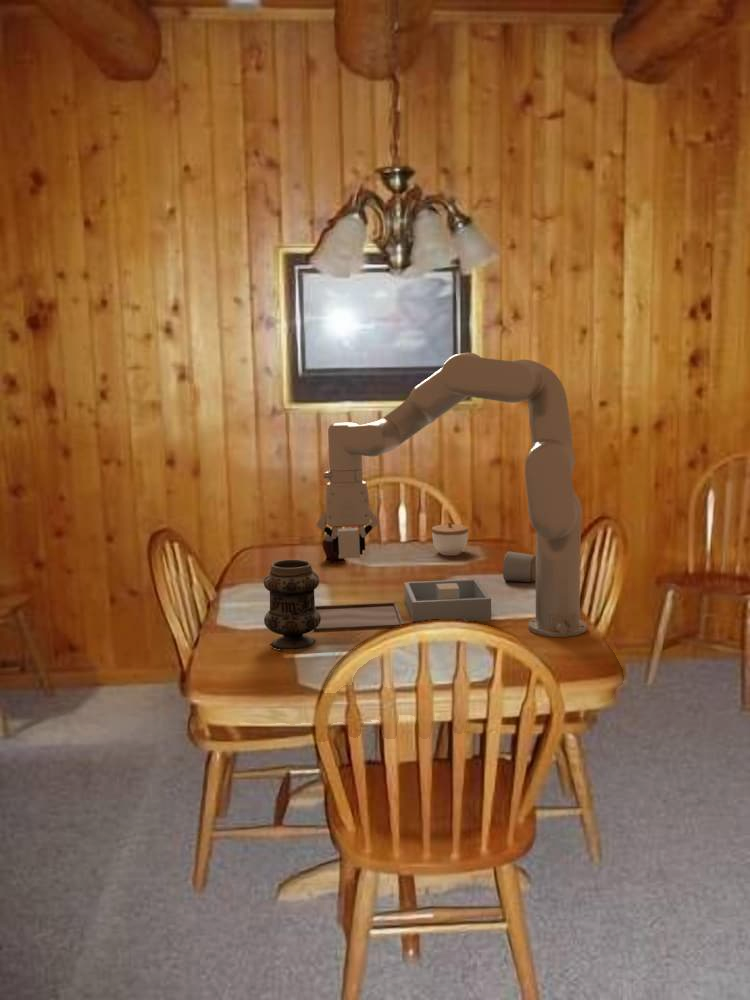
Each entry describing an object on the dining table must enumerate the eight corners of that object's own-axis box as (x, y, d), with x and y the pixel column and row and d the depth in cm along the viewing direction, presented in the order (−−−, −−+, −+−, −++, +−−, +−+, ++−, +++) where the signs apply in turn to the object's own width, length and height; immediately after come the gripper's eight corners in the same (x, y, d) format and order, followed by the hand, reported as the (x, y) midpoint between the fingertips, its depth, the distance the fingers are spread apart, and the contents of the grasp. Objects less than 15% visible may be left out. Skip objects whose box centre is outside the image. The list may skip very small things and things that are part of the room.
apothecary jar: (333, 643, 210) (330, 561, 207) (292, 658, 201) (289, 573, 198) (294, 632, 218) (291, 554, 215) (253, 646, 209) (249, 564, 206)
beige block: (459, 613, 226) (459, 588, 225) (439, 614, 226) (438, 589, 225) (456, 607, 231) (456, 583, 230) (436, 608, 231) (436, 583, 230)
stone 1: (360, 557, 226) (359, 532, 225) (339, 558, 225) (338, 533, 224) (358, 552, 230) (357, 527, 229) (338, 553, 230) (337, 528, 229)
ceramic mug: (533, 585, 252) (533, 556, 251) (502, 583, 255) (502, 554, 254) (541, 576, 262) (541, 548, 261) (511, 574, 265) (511, 546, 263)
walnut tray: (403, 629, 218) (403, 624, 218) (314, 633, 217) (314, 628, 216) (396, 607, 236) (395, 602, 236) (313, 610, 234) (312, 606, 234)
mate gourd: (330, 557, 289) (328, 507, 286) (354, 559, 286) (352, 509, 283) (318, 563, 282) (316, 512, 280) (342, 565, 279) (340, 513, 276)
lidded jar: (428, 550, 295) (428, 520, 293) (462, 548, 296) (462, 517, 295) (437, 558, 284) (436, 526, 283) (472, 556, 286) (472, 524, 284)
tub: (491, 619, 223) (491, 598, 223) (413, 623, 222) (412, 602, 221) (477, 598, 241) (477, 579, 240) (404, 602, 240) (404, 582, 239)
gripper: (309, 480, 220) (312, 559, 223) (384, 477, 222) (386, 555, 225) (308, 476, 228) (312, 552, 231) (381, 472, 229) (383, 548, 232)
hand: (349, 553), depth 228 cm, fingers closed on stone 1, 4 cm apart
